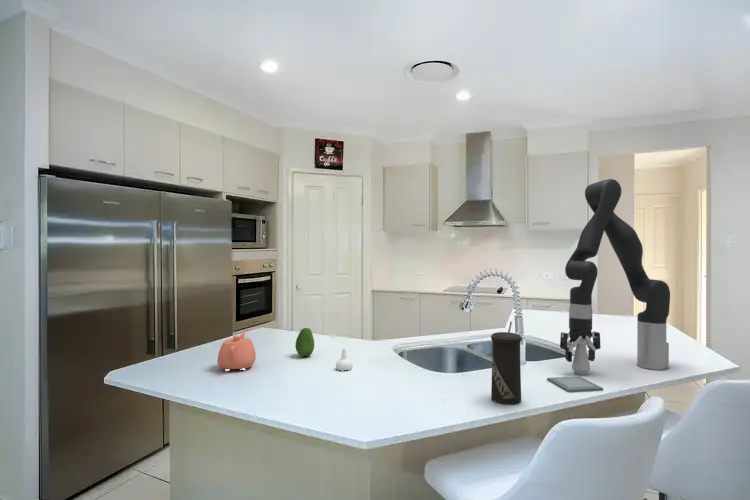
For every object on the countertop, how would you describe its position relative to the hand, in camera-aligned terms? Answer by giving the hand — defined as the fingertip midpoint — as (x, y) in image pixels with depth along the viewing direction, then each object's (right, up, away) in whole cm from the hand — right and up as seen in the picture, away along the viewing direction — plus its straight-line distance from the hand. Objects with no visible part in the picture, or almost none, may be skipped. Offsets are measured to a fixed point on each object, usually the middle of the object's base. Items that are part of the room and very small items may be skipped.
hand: (580, 361), depth 149 cm
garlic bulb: (-85, -5, +6) cm, 86 cm away
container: (-35, -5, -25) cm, 43 cm away
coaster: (-8, -5, -12) cm, 16 cm away
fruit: (-103, -5, +24) cm, 106 cm away
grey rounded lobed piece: (0, -5, 0) cm, 5 cm away
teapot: (-126, -5, +8) cm, 127 cm away
